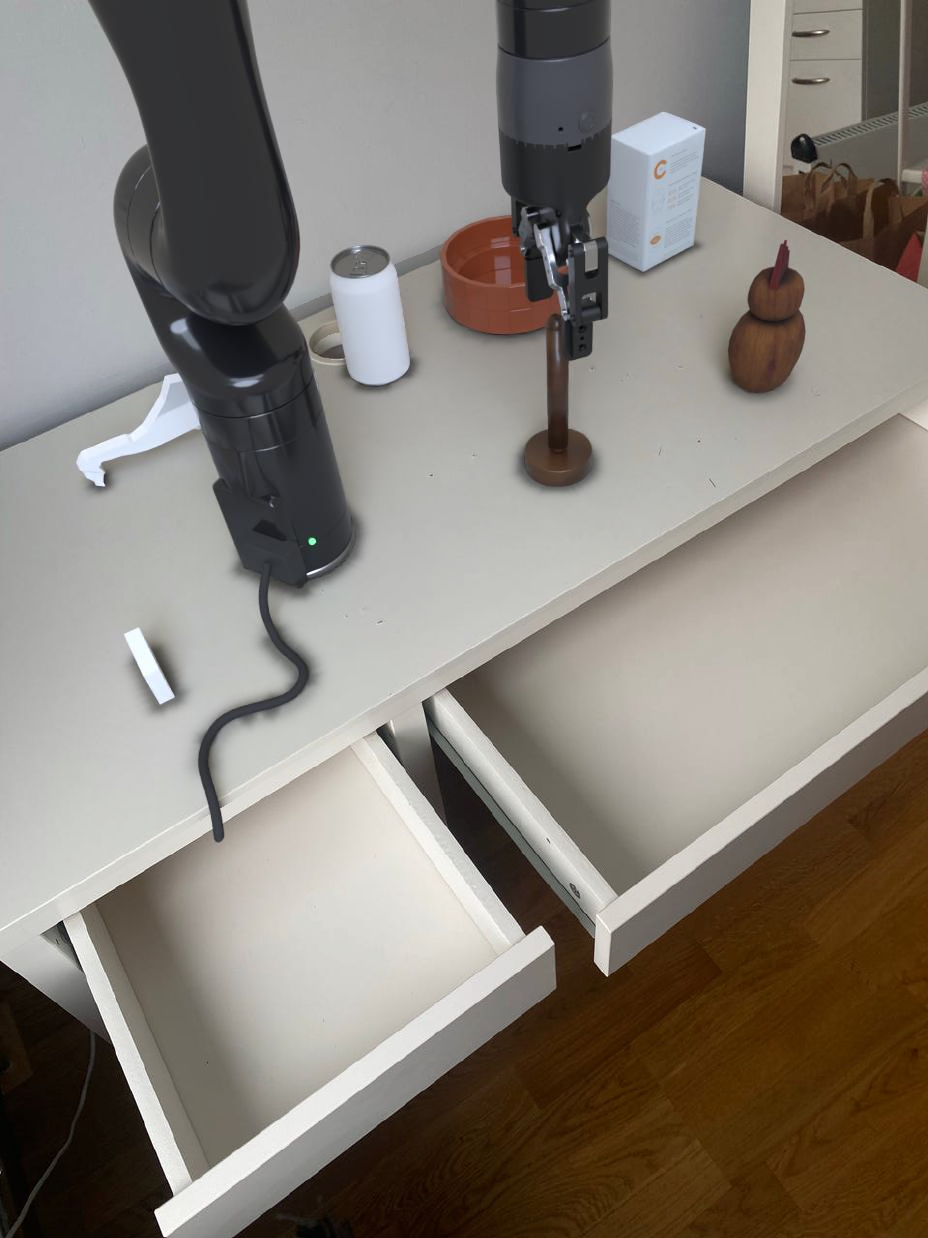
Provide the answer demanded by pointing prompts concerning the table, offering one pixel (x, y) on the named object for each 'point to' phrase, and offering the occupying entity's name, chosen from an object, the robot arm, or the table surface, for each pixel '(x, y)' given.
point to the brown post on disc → (557, 424)
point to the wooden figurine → (769, 328)
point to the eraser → (149, 665)
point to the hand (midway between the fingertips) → (557, 326)
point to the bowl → (491, 280)
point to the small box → (654, 189)
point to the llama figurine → (145, 430)
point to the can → (369, 314)
